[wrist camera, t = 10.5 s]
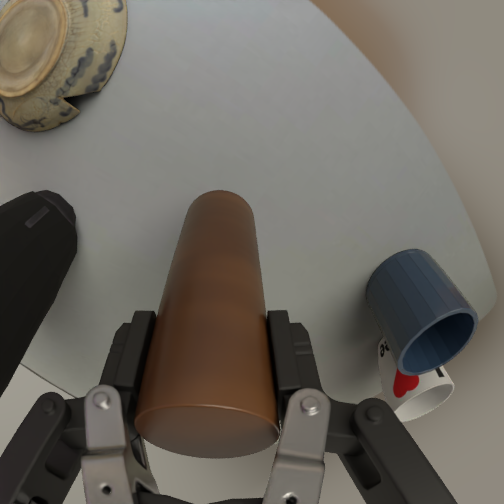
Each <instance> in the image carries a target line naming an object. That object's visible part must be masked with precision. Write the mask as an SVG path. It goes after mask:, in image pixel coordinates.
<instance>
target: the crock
mask: <svg viewBox="0 0 504 504" xmlns="http://www.w3.org/2000/svg"><path fill="white" fill-rule="evenodd" d="M366 299H367V302H368V304H369V307H370V309H371V311H372V314H373V316H374V318H375V320H376V322H377V324H378V326H379V328H380V330H381V333H382V335H383V337H384V339H385V341H386V343H387V346H388V348H389V350H390V352H391V355H392V357H393V359H394V361H395V364H396V366H397V368H398V370H399V371H400V372H401V373H402V374H404V375H408V376H415V375H422V374H425V373H428V372H431V371H433V370H435V369H437V368H439V367H441V366H443V365H444V364H446V363H447V362H449V361H450V360H451V359H453V358H454V357H455V356H456V355H457V354H459V353H460V352H461V351H462V350H463V349H464V348H465V346H466V345H467V344H468V343H469V341H470V340H471V339H472V337H473V335H474V333H475V331H476V329H477V324H478V316H477V313H476V311H475V310H474V309H473V307H472V306H471V305H470V303H469V302H468V301H467V299H466V298H465V297H464V295H463V294H462V293H461V291H460V290H459V289H458V288H457V286H456V285H455V284H454V283H453V281H452V280H451V279H450V278H449V276H448V275H447V274H446V273H445V272H444V270H443V269H442V268H441V267H440V266H439V264H438V263H437V262H436V261H435V260H434V259H433V258H432V257H431V256H430V255H429V254H428V253H427V252H425V251H423V250H419V249H409V250H405V251H401V252H399V253H397V254H395V255H393V256H391V257H390V258H388V259H387V260H385V261H384V262H383V263H382V264H381V265H380V266H379V267H378V268H377V269H376V271H375V272H374V273H373V275H372V276H371V278H370V280H369V282H368V285H367V290H366Z"/></svg>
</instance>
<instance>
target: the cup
mask: <svg viewBox="0 0 504 504" xmlns="http://www.w3.org/2000/svg"><path fill="white" fill-rule="evenodd" d="M378 366H379V371H380V377H381V383H382V389H383V393H384V396H385V400H386V403H387V404H388V405H389V406H390V407H391V409H392V410H393V411H394V413H395V414H396V416H397V417H398V418H399V420H400V421H401V422H406V421H409V420H413V419H415V418H418V417H420V416H423V415H425V414H426V413H428V412H430V411H432V410H433V409H435V408H436V407H438V406H439V405H440V404H442V403H443V402H444V401H445V400H446V399H447V398H448V397H449V396H450V395H451V394H452V392H453V390H454V384H453V383H452V381H451V379H450V377H449V375H448V374H447V373H446V371H445V369H444V367H443V366H441V367H439V368H437V369H435V370H433V371H431V372H428V373H425V374H422V375H415V376H408V375H404V374H402V373H401V372H400V371H399V370H398V368H397V366H396V364H395V361H394V359H393V357H392V355H391V352H390V350H389V348H388V346H387V343H386V341H385V339H384V337H383V338H382V340H381V341H380V342H379V344H378Z"/></svg>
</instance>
